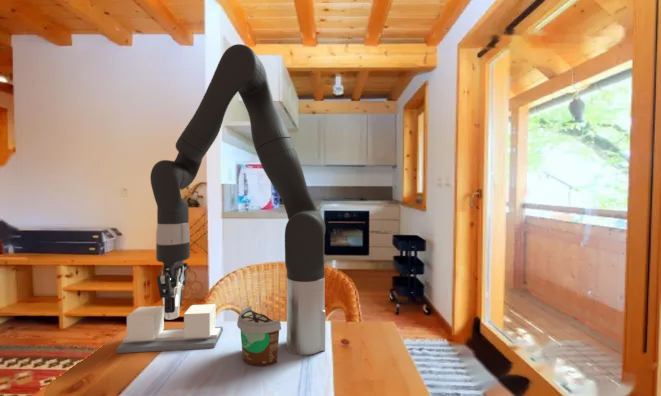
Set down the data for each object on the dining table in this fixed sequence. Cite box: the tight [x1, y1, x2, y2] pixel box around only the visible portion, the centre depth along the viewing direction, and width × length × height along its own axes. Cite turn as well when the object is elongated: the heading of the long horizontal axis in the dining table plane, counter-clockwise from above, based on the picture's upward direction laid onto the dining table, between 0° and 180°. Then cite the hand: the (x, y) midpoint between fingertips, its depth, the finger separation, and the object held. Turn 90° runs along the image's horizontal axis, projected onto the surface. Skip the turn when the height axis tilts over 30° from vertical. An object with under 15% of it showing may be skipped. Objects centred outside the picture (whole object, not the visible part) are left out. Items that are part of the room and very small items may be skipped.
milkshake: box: [162, 279, 182, 321], centre depth 78 cm, size 4×5×10 cm
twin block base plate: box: [116, 303, 224, 354], centre depth 78 cm, size 22×9×8 cm, turn 97°
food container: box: [236, 305, 282, 368], centre depth 70 cm, size 12×6×10 cm, turn 47°
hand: (173, 308), depth 78 cm, fingers closed on milkshake, 4 cm apart
